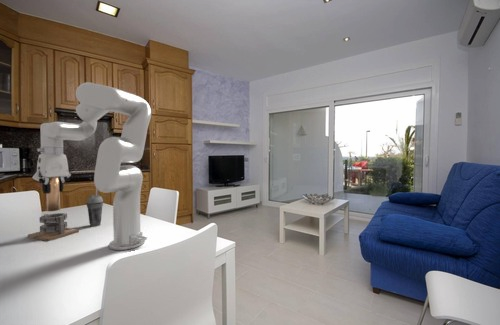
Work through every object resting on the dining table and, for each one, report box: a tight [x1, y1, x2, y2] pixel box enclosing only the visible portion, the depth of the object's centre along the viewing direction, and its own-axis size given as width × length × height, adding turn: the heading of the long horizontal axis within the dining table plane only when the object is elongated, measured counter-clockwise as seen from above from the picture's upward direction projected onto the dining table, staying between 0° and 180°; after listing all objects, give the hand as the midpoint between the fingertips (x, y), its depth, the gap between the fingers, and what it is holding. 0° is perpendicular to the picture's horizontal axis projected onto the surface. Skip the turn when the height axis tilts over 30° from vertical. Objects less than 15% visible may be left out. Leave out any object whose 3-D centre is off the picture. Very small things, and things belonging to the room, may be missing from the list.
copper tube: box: [45, 177, 61, 212], centre depth 102 cm, size 5×5×18 cm
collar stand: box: [27, 212, 80, 242], centre depth 102 cm, size 14×12×8 cm
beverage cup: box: [85, 187, 104, 228], centre depth 116 cm, size 7×7×20 cm
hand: (53, 192), depth 102 cm, fingers closed on copper tube, 4 cm apart
